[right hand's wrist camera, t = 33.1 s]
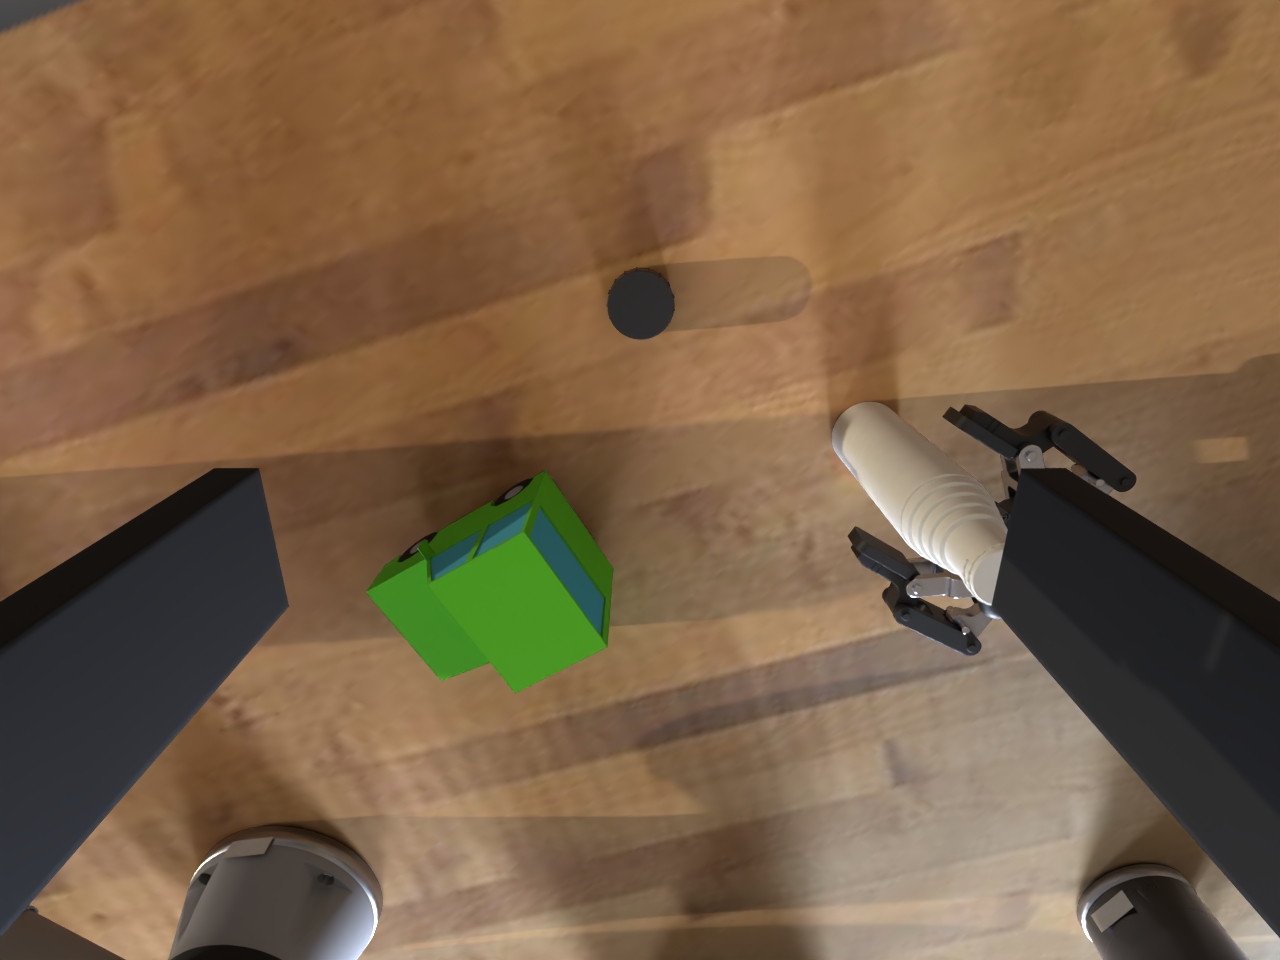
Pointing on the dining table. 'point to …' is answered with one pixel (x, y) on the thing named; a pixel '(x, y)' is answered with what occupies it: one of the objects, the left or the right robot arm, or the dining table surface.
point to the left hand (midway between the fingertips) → (901, 478)
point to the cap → (640, 303)
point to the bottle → (924, 494)
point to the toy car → (503, 589)
